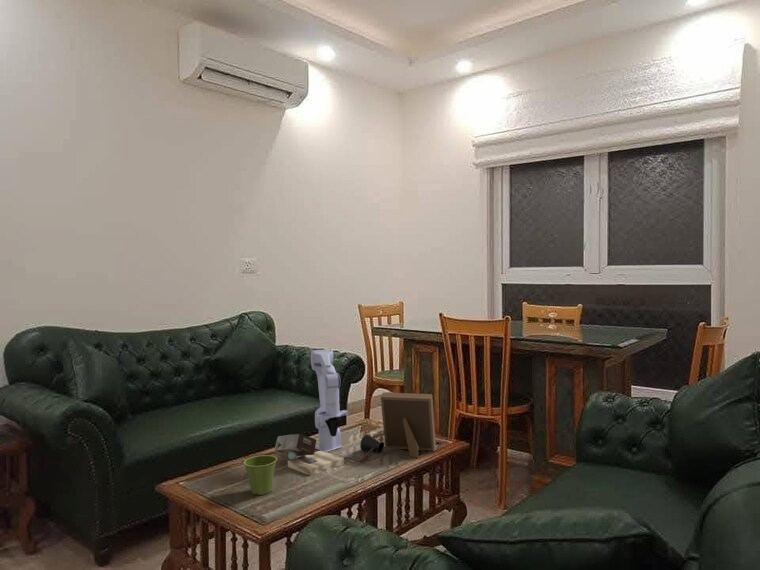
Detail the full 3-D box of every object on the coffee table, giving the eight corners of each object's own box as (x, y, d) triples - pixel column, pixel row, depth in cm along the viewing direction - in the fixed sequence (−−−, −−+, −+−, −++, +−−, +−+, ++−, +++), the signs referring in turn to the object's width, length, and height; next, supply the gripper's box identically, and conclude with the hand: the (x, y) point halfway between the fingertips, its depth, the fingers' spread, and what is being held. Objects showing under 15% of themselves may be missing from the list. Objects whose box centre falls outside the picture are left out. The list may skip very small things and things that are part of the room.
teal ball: (297, 451, 228) (289, 452, 228) (295, 449, 225) (287, 450, 225) (297, 460, 226) (289, 461, 227) (295, 458, 223) (287, 459, 224)
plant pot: (263, 482, 208) (263, 452, 208) (285, 490, 201) (284, 459, 200) (237, 493, 199) (236, 461, 199) (258, 501, 192) (257, 468, 191)
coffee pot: (368, 446, 248) (385, 452, 243) (345, 464, 233) (362, 470, 228) (369, 431, 246) (386, 436, 242) (346, 447, 231) (363, 453, 227)
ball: (303, 465, 223) (308, 468, 225) (309, 466, 221) (314, 469, 223) (305, 457, 224) (311, 459, 227) (311, 458, 222) (317, 460, 225)
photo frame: (387, 444, 250) (386, 389, 249) (435, 447, 244) (434, 391, 243) (378, 456, 236) (377, 397, 235) (429, 459, 230) (428, 399, 229)
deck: (320, 456, 237) (320, 450, 237) (344, 464, 226) (344, 458, 226) (287, 466, 225) (287, 460, 225) (310, 475, 214) (310, 469, 214)
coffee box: (294, 442, 240) (317, 439, 230) (291, 457, 237) (314, 455, 226) (277, 435, 235) (300, 432, 225) (273, 451, 232) (296, 448, 221)
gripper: (324, 407, 223) (325, 441, 223) (351, 401, 233) (352, 433, 234) (314, 405, 228) (314, 438, 228) (340, 398, 238) (341, 430, 239)
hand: (333, 435), depth 231 cm, fingers closed
